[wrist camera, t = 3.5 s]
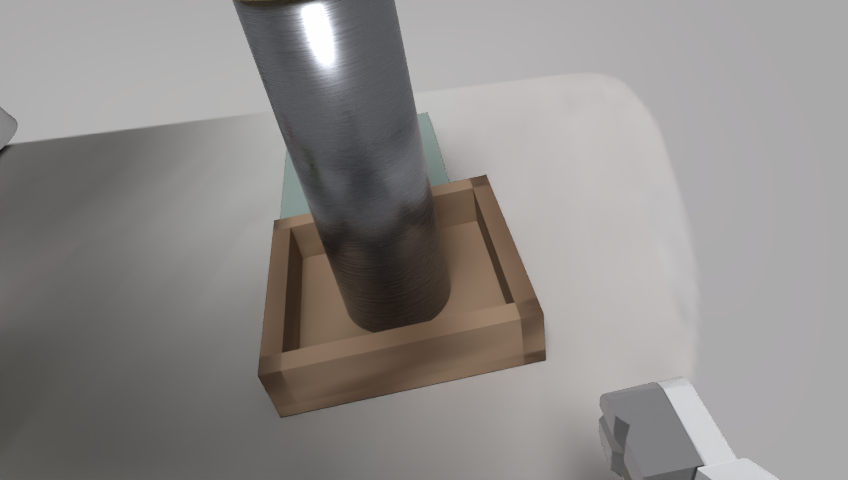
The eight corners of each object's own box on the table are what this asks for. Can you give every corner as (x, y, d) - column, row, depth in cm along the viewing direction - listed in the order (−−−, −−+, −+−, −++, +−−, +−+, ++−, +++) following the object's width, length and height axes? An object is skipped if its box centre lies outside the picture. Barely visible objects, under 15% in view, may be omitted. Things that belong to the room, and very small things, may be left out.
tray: (280, 417, 22) (257, 375, 20) (290, 260, 29) (274, 220, 27) (545, 359, 22) (543, 313, 20) (490, 217, 29) (486, 174, 27)
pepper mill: (343, 348, 23) (186, -49, 14) (341, 268, 27) (215, -86, 18) (464, 322, 23) (385, -93, 14) (444, 245, 27) (372, -121, 17)
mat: (282, 237, 30) (279, 228, 30) (290, 150, 37) (287, 142, 37) (453, 200, 30) (452, 191, 30) (429, 120, 37) (427, 112, 37)
